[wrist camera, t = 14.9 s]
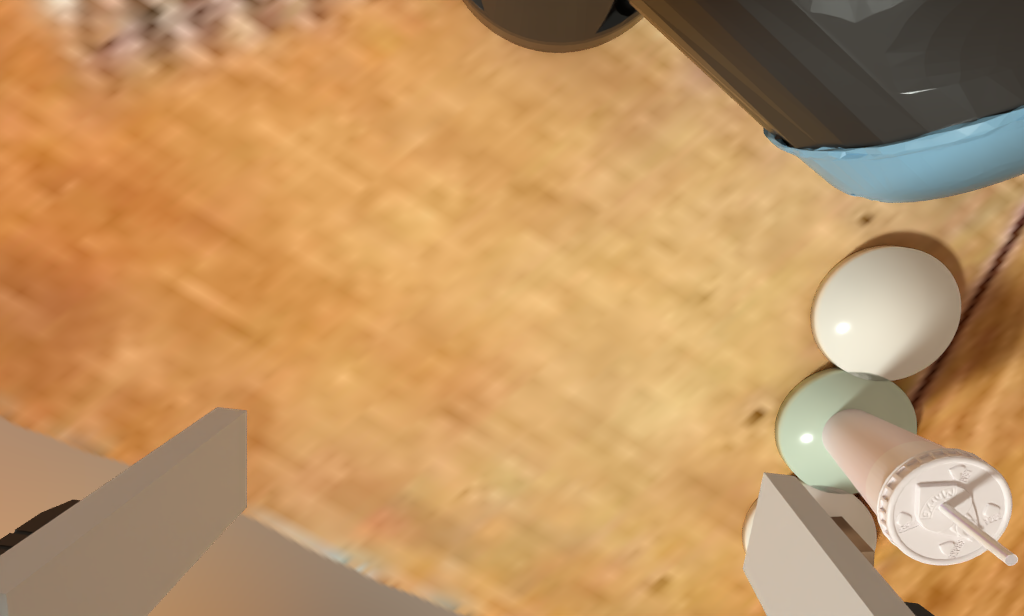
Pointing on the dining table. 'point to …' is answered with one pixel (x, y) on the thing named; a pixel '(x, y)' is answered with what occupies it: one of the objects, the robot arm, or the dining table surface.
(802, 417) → the saucer mid
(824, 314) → the saucer near
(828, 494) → the saucer far
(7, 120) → the dining table surface
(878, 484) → the smoothie
